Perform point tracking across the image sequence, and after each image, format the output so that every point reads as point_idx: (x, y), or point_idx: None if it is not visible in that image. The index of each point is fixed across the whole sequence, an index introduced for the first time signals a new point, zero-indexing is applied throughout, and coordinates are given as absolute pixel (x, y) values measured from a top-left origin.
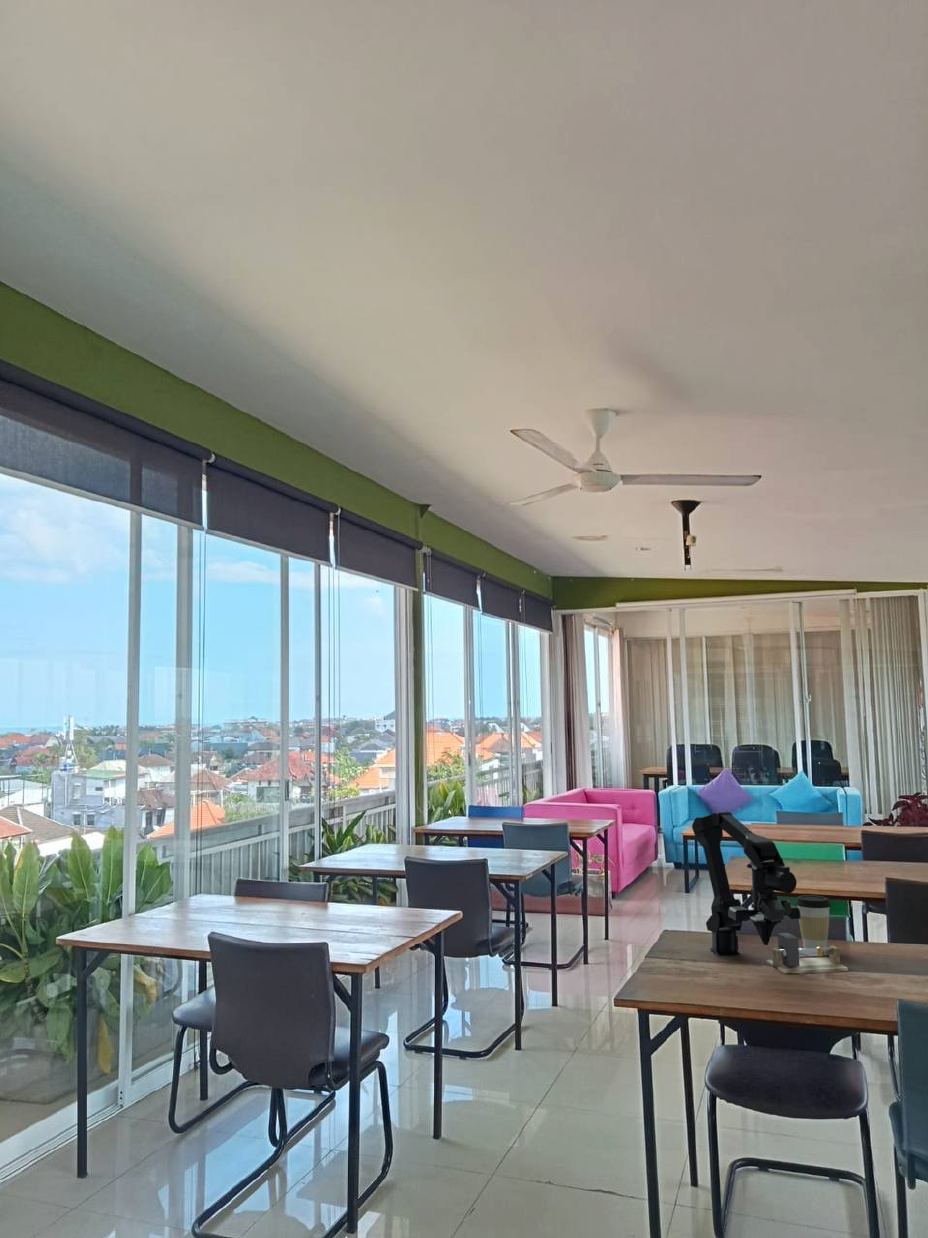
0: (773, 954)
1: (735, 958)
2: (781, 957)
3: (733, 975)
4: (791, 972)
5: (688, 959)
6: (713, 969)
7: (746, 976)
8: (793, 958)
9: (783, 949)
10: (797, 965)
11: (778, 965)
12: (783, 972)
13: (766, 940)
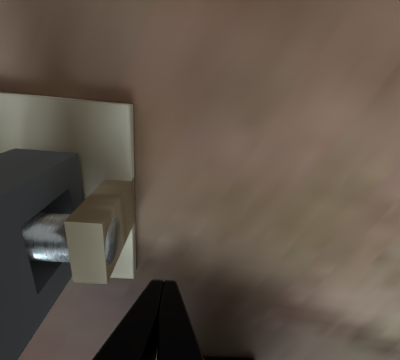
0: (116, 249)
1: (217, 331)
2: (90, 200)
3: (375, 151)
4: (92, 100)
5: (369, 345)
6: (383, 243)
7: (333, 122)
8: (18, 164)
9: (39, 249)
10: (24, 149)
11: (125, 183)
12: (132, 119)
13: (160, 308)
